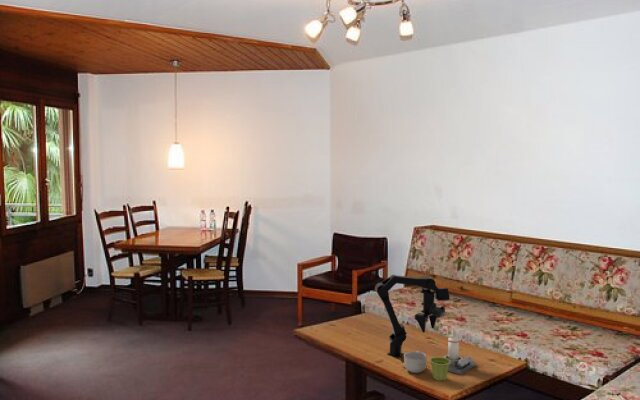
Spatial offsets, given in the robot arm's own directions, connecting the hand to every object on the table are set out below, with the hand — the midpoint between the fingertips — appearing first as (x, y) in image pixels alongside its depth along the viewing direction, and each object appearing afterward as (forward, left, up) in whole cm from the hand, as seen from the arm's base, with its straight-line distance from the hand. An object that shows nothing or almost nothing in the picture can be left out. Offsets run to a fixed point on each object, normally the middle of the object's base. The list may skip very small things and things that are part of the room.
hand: (428, 330), depth 286 cm
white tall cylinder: (-6, -18, -11) cm, 22 cm away
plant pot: (-25, -21, -13) cm, 35 cm away
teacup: (-23, -7, -13) cm, 27 cm away
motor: (-6, -19, -13) cm, 24 cm away
